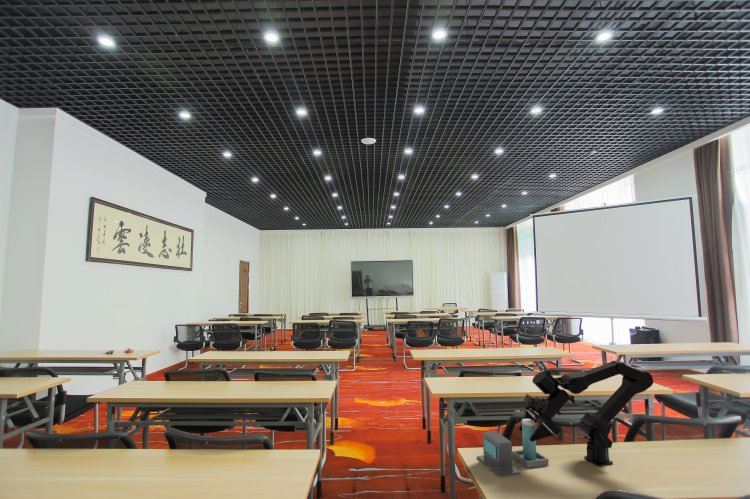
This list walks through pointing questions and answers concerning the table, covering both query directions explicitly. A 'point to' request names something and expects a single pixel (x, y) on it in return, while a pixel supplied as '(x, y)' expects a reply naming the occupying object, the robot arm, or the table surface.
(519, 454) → the holder tray
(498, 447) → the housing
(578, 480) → the table surface
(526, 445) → the canister
